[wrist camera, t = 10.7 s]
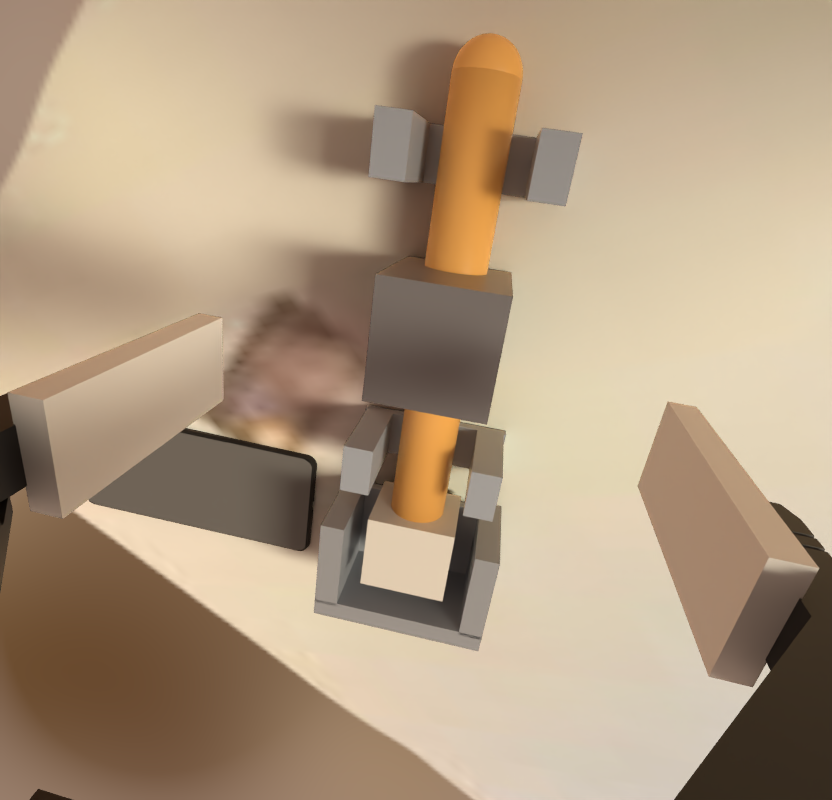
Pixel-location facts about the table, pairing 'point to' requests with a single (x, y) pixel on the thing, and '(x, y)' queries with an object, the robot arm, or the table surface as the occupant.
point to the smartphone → (222, 488)
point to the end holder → (402, 612)
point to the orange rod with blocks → (443, 326)
